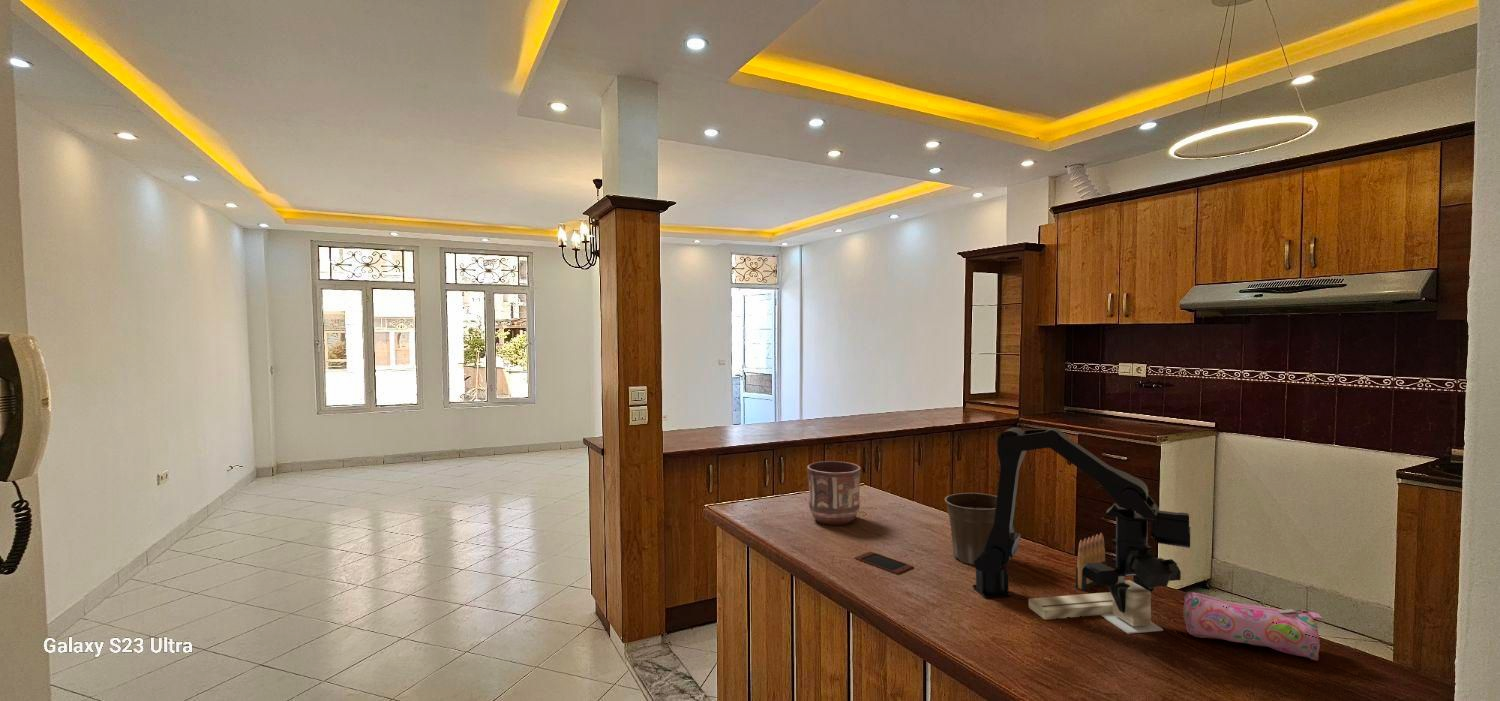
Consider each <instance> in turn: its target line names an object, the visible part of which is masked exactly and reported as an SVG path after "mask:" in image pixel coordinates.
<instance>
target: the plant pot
mask: <svg viewBox="0 0 1500 701" xmlns="http://www.w3.org/2000/svg"><path fill="white" fill-rule="evenodd" d="M996 500H997V495H994V494H988V493H980V492H962V493H961V492H960V493H954V494H949V495H947V496H945V497H944V502H945V504H946V509H947V515H948V516H949V523H950V531H951V532H950V533H951V541H952V548H953V557H954V559H956V560H959V562H960V563H964V564H966V565H969V566H970V565H971V566H975V564H974V561H975V560H976V559H977V557H978V556H979V555H980V554H981V553H982V552H983V551H984V548H985V545H986V542H987V539H988V536H989V534H990V532H991V529H992V527H993V524H994V517H995V508H996Z"/></svg>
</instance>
